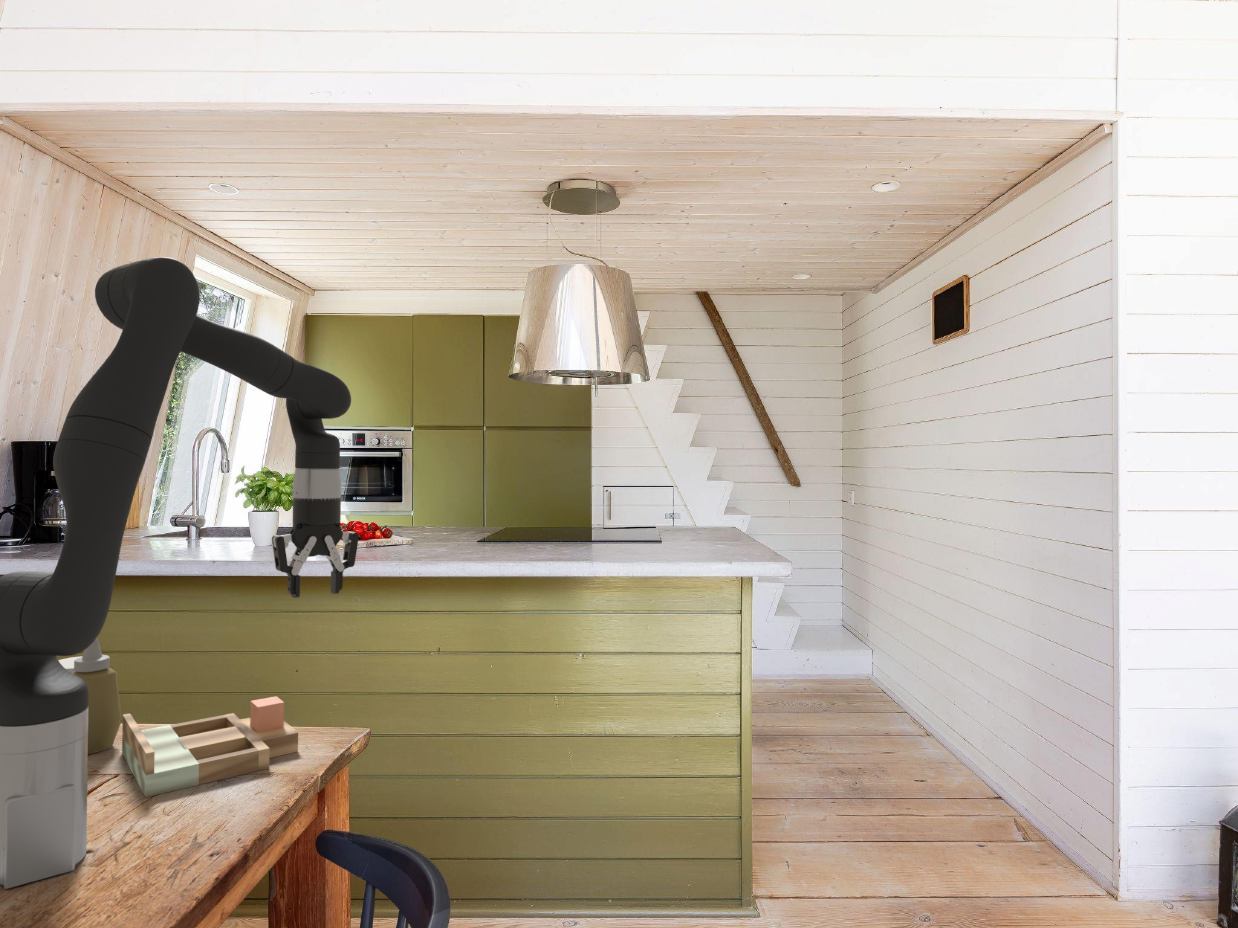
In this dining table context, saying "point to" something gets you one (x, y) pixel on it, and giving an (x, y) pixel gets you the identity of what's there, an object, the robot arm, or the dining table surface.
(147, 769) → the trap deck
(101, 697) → the squeeze bottle
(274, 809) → the dining table surface
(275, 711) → the block
